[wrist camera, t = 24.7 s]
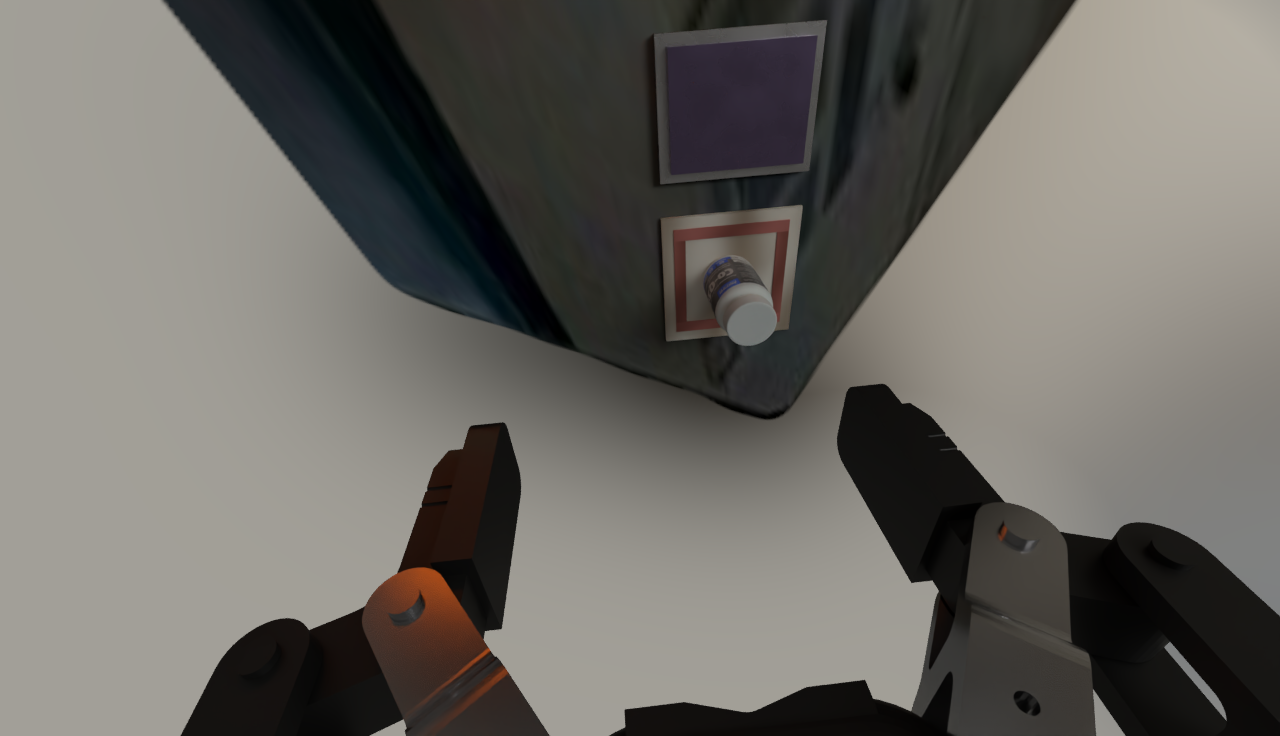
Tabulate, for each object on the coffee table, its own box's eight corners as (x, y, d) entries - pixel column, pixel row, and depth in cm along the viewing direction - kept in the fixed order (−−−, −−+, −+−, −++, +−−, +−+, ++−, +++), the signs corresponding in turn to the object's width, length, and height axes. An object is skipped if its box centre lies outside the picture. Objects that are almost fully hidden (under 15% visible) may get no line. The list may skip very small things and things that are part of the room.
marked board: (665, 339, 50) (666, 341, 49) (660, 218, 43) (661, 219, 42) (786, 327, 50) (788, 329, 50) (800, 205, 43) (803, 206, 43)
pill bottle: (717, 246, 44) (740, 288, 37) (763, 264, 45) (794, 308, 39) (693, 292, 46) (711, 340, 40) (737, 308, 48) (762, 357, 41)
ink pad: (659, 181, 41) (661, 186, 40) (652, 33, 35) (655, 34, 34) (805, 168, 41) (812, 172, 40) (822, 20, 36) (830, 20, 34)
